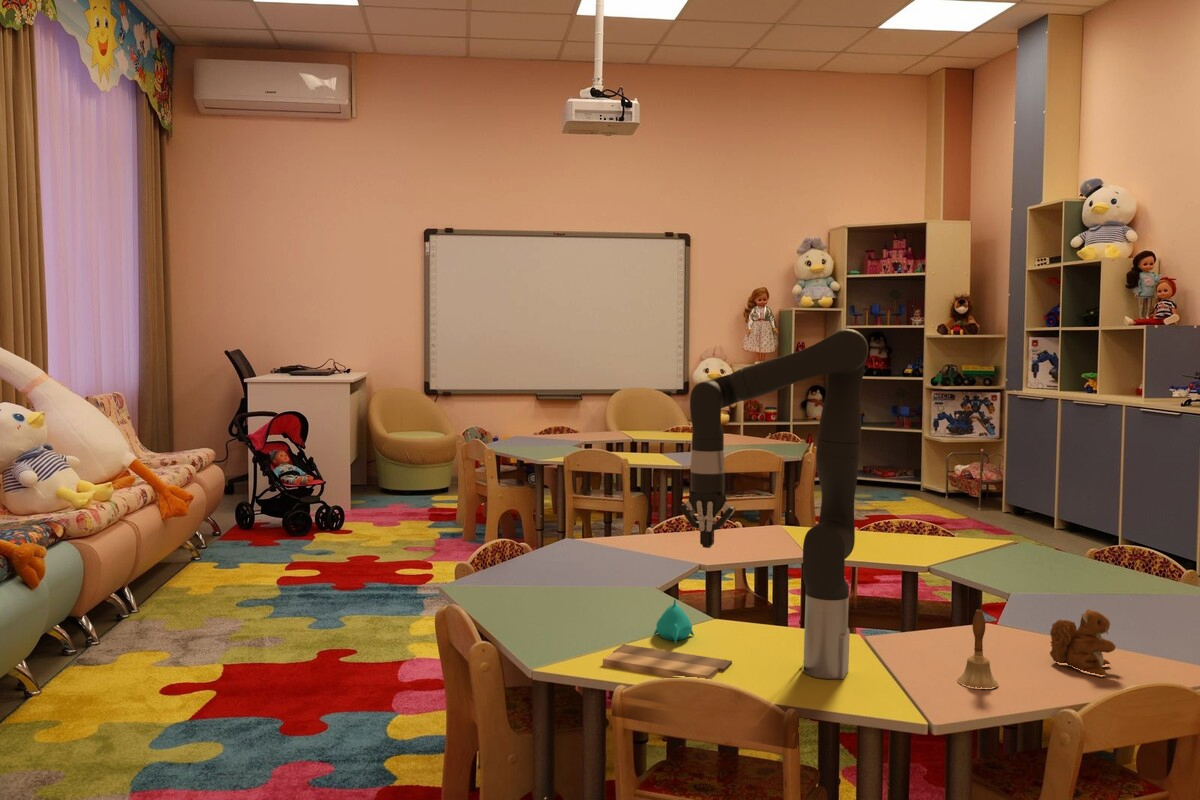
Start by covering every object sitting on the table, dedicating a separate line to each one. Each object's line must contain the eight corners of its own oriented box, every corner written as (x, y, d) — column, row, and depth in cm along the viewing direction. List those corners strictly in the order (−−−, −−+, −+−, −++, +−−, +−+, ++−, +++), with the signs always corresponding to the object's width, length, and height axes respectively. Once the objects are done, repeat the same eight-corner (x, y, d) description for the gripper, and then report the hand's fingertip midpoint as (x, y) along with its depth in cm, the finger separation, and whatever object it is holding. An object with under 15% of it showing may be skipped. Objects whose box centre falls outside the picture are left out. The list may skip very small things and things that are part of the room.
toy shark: (692, 632, 252) (693, 589, 251) (696, 655, 234) (697, 609, 233) (653, 631, 252) (653, 588, 252) (654, 654, 234) (655, 608, 234)
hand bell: (973, 691, 213) (976, 616, 212) (949, 678, 221) (951, 606, 220) (1006, 688, 215) (1010, 614, 214) (981, 675, 223) (984, 604, 222)
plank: (717, 677, 219) (718, 667, 219) (707, 685, 212) (707, 675, 212) (615, 660, 229) (615, 651, 229) (602, 667, 222) (602, 658, 222)
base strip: (731, 668, 225) (732, 660, 225) (723, 677, 219) (723, 668, 219) (623, 651, 236) (623, 644, 235) (613, 659, 230) (613, 651, 230)
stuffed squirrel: (1107, 679, 222) (1110, 620, 221) (1039, 665, 231) (1042, 608, 230) (1118, 668, 230) (1121, 611, 229) (1052, 655, 238) (1055, 599, 238)
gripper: (741, 469, 228) (740, 546, 229) (684, 466, 233) (684, 541, 234) (731, 473, 221) (730, 552, 222) (673, 470, 226) (673, 547, 227)
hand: (706, 547), depth 228 cm, fingers closed
